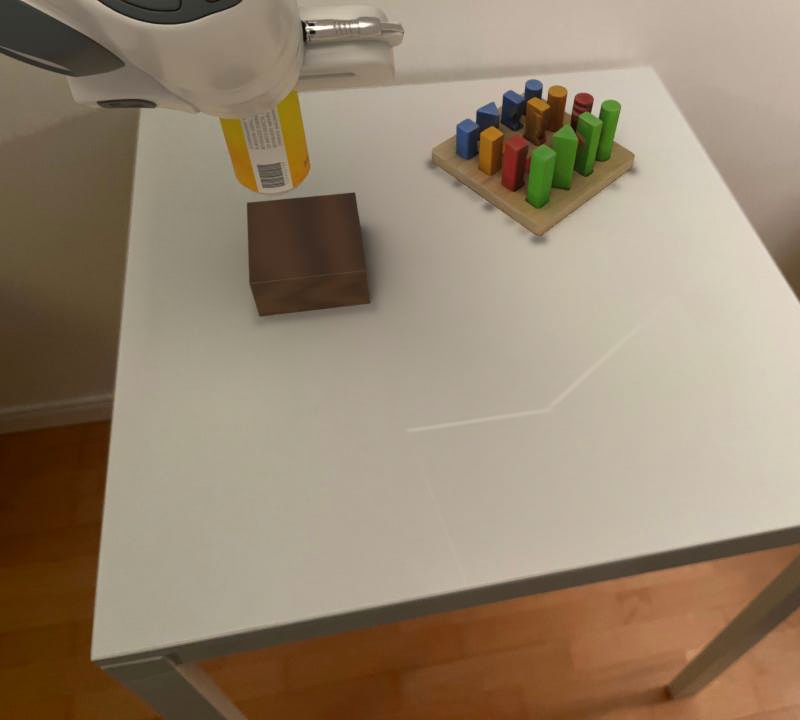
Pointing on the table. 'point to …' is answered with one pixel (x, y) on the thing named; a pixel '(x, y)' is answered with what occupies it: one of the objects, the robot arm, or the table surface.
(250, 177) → the orange beverage can
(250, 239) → the walnut block
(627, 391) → the table surface
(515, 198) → the peg board
